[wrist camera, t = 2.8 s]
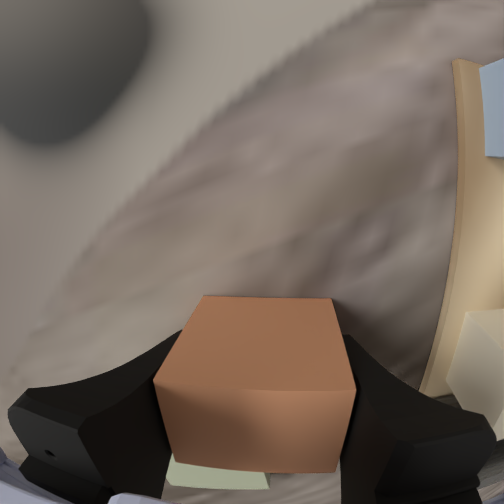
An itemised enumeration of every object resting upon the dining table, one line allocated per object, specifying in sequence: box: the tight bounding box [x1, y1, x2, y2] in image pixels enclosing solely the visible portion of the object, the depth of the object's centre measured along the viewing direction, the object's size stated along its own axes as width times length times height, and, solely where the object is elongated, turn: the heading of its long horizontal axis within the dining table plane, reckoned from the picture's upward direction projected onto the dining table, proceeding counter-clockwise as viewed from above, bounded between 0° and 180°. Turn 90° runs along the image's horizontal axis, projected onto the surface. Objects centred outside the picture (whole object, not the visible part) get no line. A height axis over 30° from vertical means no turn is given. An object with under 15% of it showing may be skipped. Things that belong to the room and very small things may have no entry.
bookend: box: [433, 395, 504, 490], centre depth 10 cm, size 6×2×6 cm, turn 91°
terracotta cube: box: [153, 296, 356, 473], centre depth 10 cm, size 5×4×6 cm
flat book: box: [166, 453, 271, 489], centre depth 15 cm, size 6×4×2 cm
